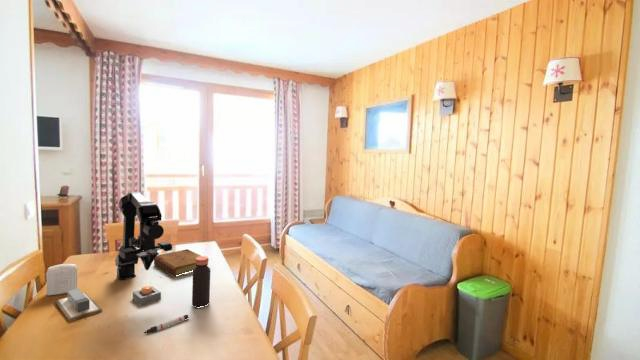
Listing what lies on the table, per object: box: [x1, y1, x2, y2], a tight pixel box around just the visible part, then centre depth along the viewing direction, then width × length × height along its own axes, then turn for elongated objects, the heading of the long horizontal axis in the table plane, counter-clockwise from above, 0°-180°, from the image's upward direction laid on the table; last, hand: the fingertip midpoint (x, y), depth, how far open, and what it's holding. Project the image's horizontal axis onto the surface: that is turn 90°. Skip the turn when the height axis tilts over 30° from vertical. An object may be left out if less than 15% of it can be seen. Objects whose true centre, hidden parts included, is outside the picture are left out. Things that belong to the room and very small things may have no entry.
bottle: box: [191, 255, 211, 307], centre depth 129 cm, size 7×7×20 cm
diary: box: [153, 248, 209, 278], centre depth 169 cm, size 23×19×6 cm
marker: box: [143, 314, 190, 334], centre depth 113 cm, size 15×2×2 cm, turn 139°
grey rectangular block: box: [66, 288, 89, 312], centre depth 122 cm, size 4×14×4 cm, turn 52°
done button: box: [140, 285, 152, 296], centre depth 131 cm, size 4×4×2 cm
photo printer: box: [46, 263, 79, 296], centre depth 133 cm, size 10×4×12 cm, turn 123°
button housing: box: [132, 286, 162, 306], centre depth 132 cm, size 8×8×3 cm
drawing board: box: [54, 292, 103, 323], centre depth 122 cm, size 10×20×1 cm, turn 52°
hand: (147, 269), depth 131 cm, fingers closed
